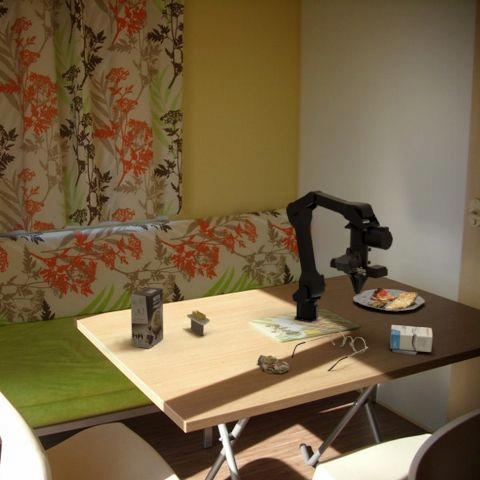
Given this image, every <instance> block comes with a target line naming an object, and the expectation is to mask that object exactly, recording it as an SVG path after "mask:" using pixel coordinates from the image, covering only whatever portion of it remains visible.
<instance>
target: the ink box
mask: <svg viewBox="0 0 480 480" xmlns="http://www.w3.org/2000/svg"><path fill="white" fill-rule="evenodd" d="M433 337H434V336H433V329H432V327H421V326H409V325H398V324H391V328H390V343H389V344H390V345H389V346H390V347H389V348H390V349H391V350H393V349H400V350H412V351H418V352H423V353H424V352H426V353H432V347H433V346H432V345H433Z"/></svg>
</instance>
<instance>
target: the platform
mask: <svg viewBox="0 0 480 480" xmlns="http://www.w3.org/2000/svg"><path fill="white" fill-rule="evenodd" d="M186 317H187V318H188V319H190V329H191V330H192V332H195V333H197V334H198V335H200V336H202V337H204V335H205V334H204V328H205V327H204V326H205V325H208V324H209V323H210V321H211V320H210V319H209V318H207V314H204V313H203V312H201V311H200V310H196V311H194V310H193V311H192V313H190V314H186Z"/></svg>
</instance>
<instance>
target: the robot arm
mask: <svg viewBox="0 0 480 480" xmlns="http://www.w3.org/2000/svg"><path fill="white" fill-rule="evenodd" d="M318 207H321V208H323V209H327V210H328V211H332V212H334V213H337V214H340V215H341V216H342V217H343V218H344V219H345V220H346V221H349V222H348V223H347V224H346V225H344V229H346V230H349V246H348V247H346V249H345V254H342V255H341V256H336V257H332V258H331V260H330V261H329V268H331V269H336V270H337V272H343V273H344V274H346V276H348V277H349V280H350V282H351V286H352V288H353V292H354V294H356V295H357V294H359V293H361V292H362V289H363V287H364V286H365V283H366V282H367V281H368V279H369V278H372V279H379V278H383V277H387V276H389V269H388V267H387V266H384V265H380V264H373V265H371V262H372V261H371V260H369V252H372V249H373V248H374V249H378V250H383V251H388V250H390V249H391V247H392V245H393V241H394V237H393V234H392V232H391V231H390V227H389V226H386V225H385V226H383V225H382V226H381V224H380V222H379V220H378V218H377V215H376V214H375V212H374V209H373V207H372V205H371V204H370V203H368V202H361V201H350V200H346V199H343V198H339V197H337V196H333V195H331V194H329V193H325V192H323V191H322V190H311V191H308V193H306V194H305V195H303V196H301V197H300V198H298V199H296V200H295V201H291V202H289V203H288V204H287V206H286V208H285V213H286V216H287V219H288V222H289V224H290V225H291V226H292V228H293V229H294V233H295V239H296V246H297V251H298V257H299V258H298V259H299V265H300V276H299V279H298V288H297V290H296V291H295V292H294V293H293V294H292V295H291V296H292V301H293V302H295V303H296V306H295V307H296V309H295V310H296V313H295V314H296V315H295V316H294V318H293V319H294V320H298V321H305V322H310V321H311V323H312V321H313V322H314V321H316V320H317V318H319V311H320V310H319V306H320V305H319V304H318V300H320V301H321V300H322V296H323V295H324V292H325V291H326V288H325V287H327V285H326V282H325V275H324V274H320V272H319V271H318V270H317V265H316V260H315V252H314V247H313V240H312V235H311V224H312V220H313V211H315V210H316V209H317V208H318Z"/></svg>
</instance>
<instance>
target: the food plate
mask: <svg viewBox="0 0 480 480" xmlns="http://www.w3.org/2000/svg"><path fill="white" fill-rule="evenodd" d="M352 299H353V301H354V302H355V303H359V305H363V306H366V307H369V308H372V309H376V310H377V309H378V310H382V311H388V312H395V313H398V312H399V311H400V312H402V311H408V310H410V311H411V310H415V309H416V308H418V307H420V306H421V305H423V304H424V303H426V300H425V299H424V298H423V297H422V296H421V295H419V293H418V292H417V291H406V290H401V289H391V288H384V287H383V286H382V287H378V288H374V289H369V290H363V291H360V293H359V294H356V295H354V296H353V298H352Z"/></svg>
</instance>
